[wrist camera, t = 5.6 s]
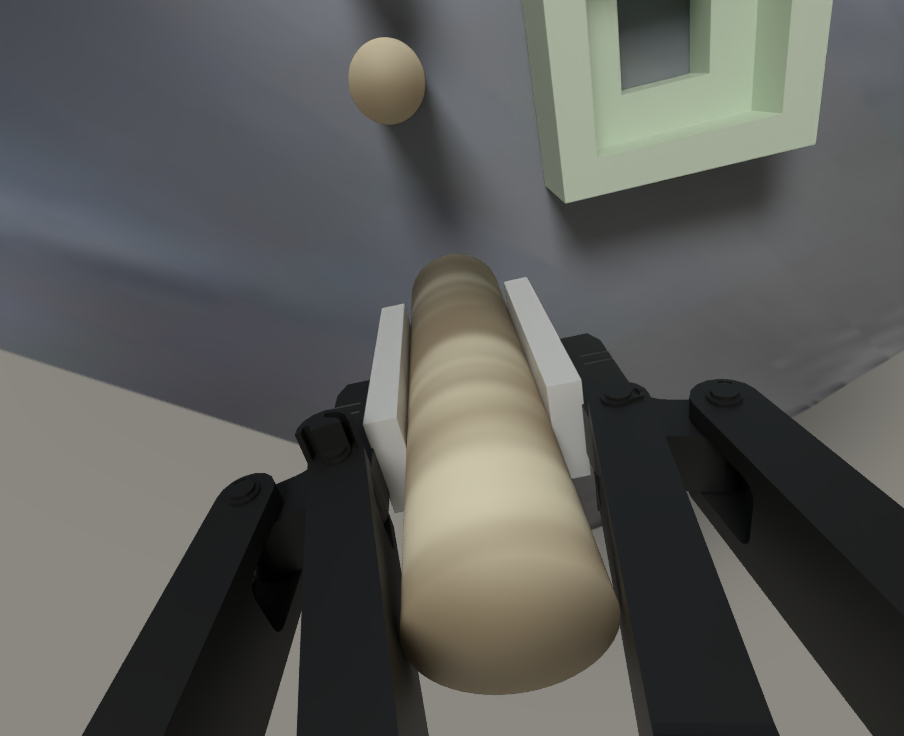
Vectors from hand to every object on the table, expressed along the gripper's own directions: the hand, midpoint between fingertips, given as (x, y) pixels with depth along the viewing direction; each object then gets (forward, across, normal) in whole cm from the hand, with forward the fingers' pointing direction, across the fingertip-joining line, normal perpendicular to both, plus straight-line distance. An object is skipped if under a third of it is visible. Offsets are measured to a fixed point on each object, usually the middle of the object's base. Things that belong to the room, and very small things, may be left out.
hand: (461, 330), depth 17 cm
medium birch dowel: (+20, -1, +8) cm, 21 cm away
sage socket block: (+20, +14, +7) cm, 25 cm away
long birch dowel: (+3, 0, 0) cm, 3 cm away
